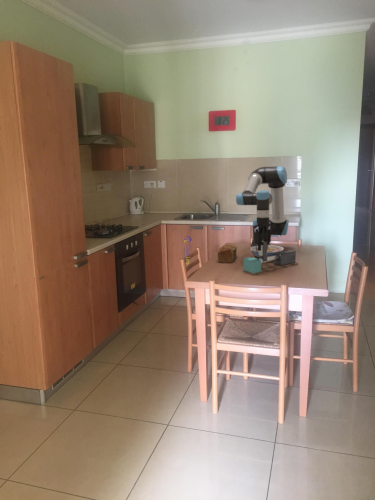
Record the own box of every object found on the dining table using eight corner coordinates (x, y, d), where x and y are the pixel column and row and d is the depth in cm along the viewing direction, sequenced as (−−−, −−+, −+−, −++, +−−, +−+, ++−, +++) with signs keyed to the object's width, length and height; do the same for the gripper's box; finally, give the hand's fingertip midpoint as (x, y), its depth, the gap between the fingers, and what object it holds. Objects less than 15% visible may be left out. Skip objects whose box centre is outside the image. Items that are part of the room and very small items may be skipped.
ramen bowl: (284, 263, 256) (284, 251, 254) (249, 263, 260) (249, 251, 259) (283, 254, 279) (283, 243, 278) (250, 254, 284) (250, 243, 282)
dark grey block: (288, 261, 257) (288, 249, 256) (295, 262, 252) (295, 251, 251) (273, 264, 250) (274, 252, 249) (280, 266, 245) (281, 254, 244)
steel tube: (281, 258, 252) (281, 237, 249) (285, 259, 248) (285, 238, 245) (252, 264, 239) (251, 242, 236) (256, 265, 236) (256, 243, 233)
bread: (232, 263, 262) (232, 248, 259) (217, 262, 265) (216, 248, 263) (237, 256, 279) (237, 243, 277) (222, 256, 282) (222, 242, 280)
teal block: (250, 268, 242) (250, 256, 241) (261, 271, 235) (261, 259, 233) (243, 270, 239) (243, 258, 238) (253, 273, 232) (253, 261, 230)
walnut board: (287, 261, 259) (287, 260, 259) (297, 264, 251) (297, 263, 251) (243, 271, 239) (243, 270, 239) (253, 275, 232) (253, 273, 232)
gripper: (257, 218, 227) (257, 258, 232) (277, 216, 236) (276, 254, 241) (248, 217, 234) (248, 256, 239) (268, 215, 242) (268, 252, 247)
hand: (262, 255), depth 240 cm, fingers closed on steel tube, 3 cm apart
